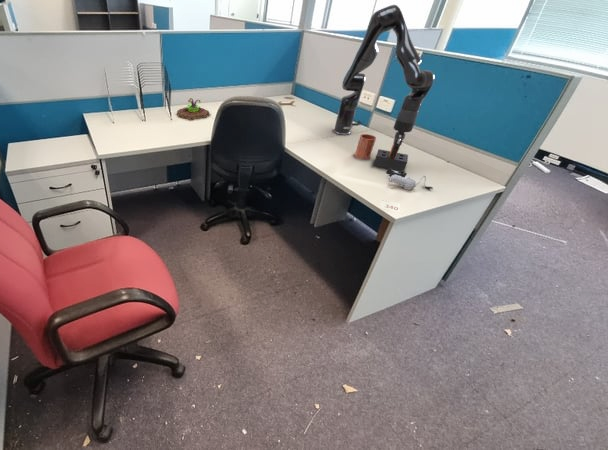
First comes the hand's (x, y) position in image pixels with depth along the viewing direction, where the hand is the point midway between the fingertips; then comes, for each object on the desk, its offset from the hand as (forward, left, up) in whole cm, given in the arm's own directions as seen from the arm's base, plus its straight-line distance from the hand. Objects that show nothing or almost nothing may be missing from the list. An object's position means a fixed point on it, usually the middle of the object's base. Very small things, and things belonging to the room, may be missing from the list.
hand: (392, 155), depth 157 cm
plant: (-21, -123, -7) cm, 125 cm away
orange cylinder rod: (0, 0, -6) cm, 6 cm away
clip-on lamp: (+15, +9, -7) cm, 19 cm away
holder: (-2, 0, -7) cm, 7 cm away
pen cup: (-7, -13, -7) cm, 16 cm away
